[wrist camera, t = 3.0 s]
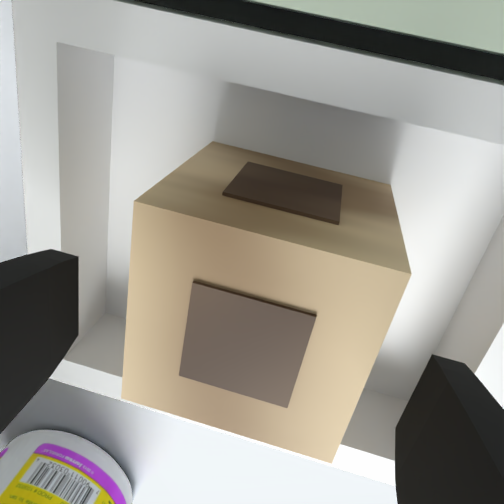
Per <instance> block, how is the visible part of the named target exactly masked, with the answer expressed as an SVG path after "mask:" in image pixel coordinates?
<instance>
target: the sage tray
mask: <svg viewBox="0 0 504 504" xmlns="http://www.w3.org/2000/svg"><path fill="white" fill-rule="evenodd" d="M241 1H245V2H250V3H255V4H259V5H264V6H269V7H274V8H278V9H283V10H288V11H292V12H297V13H302V14H307V15H311V16H316V17H321V18H325V19H330V20H335V21H340V22H344V23H349V24H354V25H359V26H363V27H368V28H373V29H377V30H382V31H387V32H392V33H396V34H401V35H406V36H410V37H415V38H420V39H425V40H429V41H434V42H439V43H443V44H448V45H453V46H458V47H462V48H467V49H472V50H477V51H481V52H486V53H491V54H495V55H500V56H504V0H241Z"/></svg>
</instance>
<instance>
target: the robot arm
mask: <svg viewBox="0 0 504 504" xmlns="http://www.w3.org/2000/svg"><path fill="white" fill-rule="evenodd" d="M78 335H79V256H75V255H72V254H68V253H64V252H61V251H57V250H54V249H48V250H44V251H39V252H35V253H32V254H28V255H25V256H21V257H18V258H14V259H11V260H8V261H4V262H1V263H0V434H1V432H2V431H3V430H4V429H5V428H6V427H7V426H8V425H9V423H10V422H11V421H12V420H13V419H14V418H15V417H16V415H17V414H18V413H19V412H20V411H21V410H22V409H23V408H24V406H25V405H26V404H27V403H28V402H29V401H30V400H31V398H32V397H33V396H34V395H35V394H36V393H37V392H38V390H39V389H40V388H41V387H42V386H43V385H44V383H45V382H46V381H47V380H48V379H49V378H50V376H51V375H52V374H53V372H54V371H55V369H56V368H57V367H58V365H59V364H60V362H61V361H62V359H63V358H64V357H65V355H66V353H67V352H68V350H69V349H70V347H71V346H72V344H73V343H74V341H75V340H76V338H77V337H78ZM395 484H396V493H397V502H398V504H504V409H503V408H502V407H501V406H500V404H499V403H498V402H497V401H496V399H495V398H494V397H493V396H492V394H491V393H490V392H489V391H488V390H487V388H486V387H485V386H484V385H483V383H482V382H481V381H480V380H479V379H478V378H477V376H476V375H475V374H474V373H473V372H472V371H471V370H470V368H469V367H468V366H467V365H466V364H465V363H462V362H459V361H455V360H451V359H448V358H444V357H441V356H437V355H433V354H432V355H431V357H430V359H429V361H428V363H427V365H426V367H425V369H424V371H423V373H422V375H421V377H420V379H419V381H418V383H417V385H416V387H415V389H414V391H413V393H412V395H411V397H410V399H409V401H408V403H407V405H406V407H405V409H404V411H403V413H402V415H401V417H400V419H399V421H398V423H397V425H396V427H395Z"/></svg>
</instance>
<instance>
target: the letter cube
mask: <svg viewBox="0 0 504 504" xmlns="http://www.w3.org/2000/svg"><path fill="white" fill-rule="evenodd" d="M411 275H412V273H411V269H410V265H409V261H408V256H407V252H406V248H405V244H404V239H403V235H402V231H401V227H400V222H399V218H398V214H397V210H396V205H395V201H394V197H393V193H392V188H391V185H390V184H385V183H381V182H377V181H373V180H369V179H365V178H361V177H357V176H353V175H349V174H345V173H341V172H337V171H332V170H328V169H324V168H320V167H316V166H312V165H308V164H304V163H300V162H296V161H292V160H288V159H284V158H279V157H275V156H271V155H267V154H263V153H259V152H255V151H251V150H247V149H243V148H239V147H235V146H231V145H226V144H222V143H218V142H214V141H212V142H211V143H209V144H208V145H207V146H205V147H204V148H203V149H201V150H200V151H199V152H198V153H196V154H195V155H194V156H192V157H191V158H190V159H188V160H187V161H186V162H184V163H183V164H182V165H180V166H179V167H178V168H176V169H175V170H174V171H173V172H171V173H170V174H169V175H167V176H166V177H165V178H163V179H162V180H161V181H159V182H158V183H157V184H155V185H154V186H153V187H151V188H150V189H149V190H147V191H146V192H145V193H144V194H142V195H141V196H140V197H138V198H137V199H136V200H134V204H133V220H132V235H131V251H130V267H129V282H128V298H127V314H126V329H125V345H124V361H123V376H122V392H121V399H125V400H128V401H131V402H134V403H138V404H141V405H144V406H147V407H150V408H154V409H157V410H160V411H163V412H167V413H170V414H173V415H176V416H179V417H183V418H186V419H189V420H192V421H196V422H199V423H202V424H205V425H208V426H212V427H215V428H218V429H221V430H225V431H228V432H231V433H234V434H237V435H241V436H244V437H247V438H250V439H254V440H257V441H260V442H263V443H266V444H270V445H273V446H276V447H279V448H283V449H286V450H289V451H292V452H295V453H299V454H302V455H305V456H308V457H312V458H315V459H318V460H321V461H324V462H328V463H331V464H332V462H333V460H334V457H335V455H336V452H337V450H338V448H339V445H340V443H341V441H342V438H343V436H344V434H345V431H346V429H347V426H348V424H349V422H350V419H351V417H352V415H353V412H354V410H355V407H356V405H357V403H358V400H359V398H360V396H361V393H362V391H363V388H364V386H365V384H366V381H367V379H368V377H369V374H370V372H371V370H372V367H373V365H374V362H375V360H376V358H377V355H378V353H379V351H380V348H381V346H382V343H383V341H384V339H385V336H386V334H387V332H388V329H389V327H390V324H391V322H392V320H393V317H394V315H395V313H396V310H397V308H398V306H399V303H400V301H401V298H402V296H403V294H404V291H405V289H406V287H407V284H408V282H409V279H410V277H411Z"/></svg>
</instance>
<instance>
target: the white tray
mask: <svg viewBox="0 0 504 504" xmlns="http://www.w3.org/2000/svg"><path fill="white" fill-rule="evenodd" d="M12 14H13V30H14V46H15V62H16V78H17V94H18V110H19V126H20V142H21V157H22V173H23V189H24V205H25V221H26V237H27V253H28V254H32V253H35V252H39V251H44V250H48V249H54V250H57V251H61V252H64V253H68V254H72V255H75V256H79V335H78V337H77V338H76V340H75V341H74V343H73V344H72V346H71V347H70V349H69V350H68V352H67V353H66V355H65V357H64V358H63V359H62V361H61V362H60V364H59V365H58V367H57V368H56V369H55V371H54V372H53V374H52V375H51V376H50V378H49V379H52V380H55V381H59V382H62V383H65V384H68V385H72V386H75V387H78V388H81V389H84V390H88V391H91V392H94V393H97V394H100V395H104V396H107V397H110V398H113V399H117V400H120V401H123V402H126V403H129V404H133V405H136V406H139V407H142V408H145V409H149V410H152V411H155V412H158V413H162V414H165V415H168V416H171V417H174V418H178V419H181V420H184V421H187V422H190V423H194V424H197V425H200V426H203V427H207V428H210V429H213V430H216V431H219V432H223V433H226V434H229V435H232V436H235V437H239V438H242V439H245V440H248V441H252V442H255V443H258V444H261V445H264V446H268V447H271V448H274V449H277V450H281V451H284V452H287V453H290V454H293V455H297V456H300V457H303V458H306V459H309V460H313V461H316V462H319V463H322V464H326V465H329V466H332V467H335V468H338V469H342V470H345V471H348V472H351V473H354V474H358V475H361V476H364V477H367V478H371V479H374V480H377V481H380V482H383V483H387V484H390V485H393V486H396V484H395V427H396V425H397V423H398V421H399V419H400V417H401V415H402V413H403V411H404V409H405V407H406V405H407V403H408V401H409V399H410V397H411V395H412V393H413V391H414V389H415V387H416V385H417V383H418V381H419V379H420V377H421V375H422V373H423V371H424V369H425V367H426V365H427V363H428V361H429V359H430V357H431V355H432V354H433V355H437V356H441V357H444V358H448V359H451V360H455V361H459V362H462V363H465V364H466V365H467V366H468V367H469V368H470V370H471V371H472V372H473V373H474V374H475V375H476V376H477V378H478V379H479V380H480V381H481V382H482V383H483V385H484V386H485V387H486V388H487V390H488V391H489V392H490V393H491V394H492V396H493V397H494V398H495V399H496V401H497V402H498V403H499V404H500V406H501V407H503V405H504V81H503V80H499V79H494V78H489V77H485V76H480V75H476V74H471V73H466V72H462V71H457V70H453V69H448V68H443V67H439V66H434V65H430V64H425V63H420V62H416V61H411V60H406V59H402V58H397V57H393V56H388V55H383V54H379V53H374V52H370V51H365V50H360V49H356V48H351V47H347V46H342V45H337V44H333V43H328V42H324V41H319V40H314V39H310V38H305V37H301V36H296V35H291V34H287V33H282V32H277V31H273V30H268V29H264V28H259V27H254V26H250V25H245V24H241V23H236V22H231V21H227V20H222V19H218V18H213V17H208V16H204V15H199V14H195V13H190V12H185V11H181V10H176V9H172V8H167V7H162V6H158V5H153V4H148V3H144V2H139V1H135V0H12ZM212 141H214V142H218V143H222V144H226V145H231V146H235V147H239V148H243V149H247V150H251V151H255V152H259V153H263V154H267V155H271V156H275V157H279V158H284V159H288V160H292V161H296V162H300V163H304V164H308V165H312V166H316V167H320V168H324V169H328V170H332V171H337V172H341V173H345V174H349V175H353V176H357V177H361V178H365V179H369V180H373V181H377V182H381V183H385V184H390V185H391V188H392V193H393V197H394V201H395V205H396V210H397V214H398V218H399V222H400V227H401V231H402V235H403V239H404V244H405V248H406V252H407V256H408V261H409V265H410V269H411V273H412V275H411V277H410V279H409V282H408V284H407V287H406V289H405V291H404V294H403V296H402V298H401V301H400V303H399V306H398V308H397V310H396V313H395V315H394V317H393V320H392V322H391V324H390V327H389V329H388V332H387V334H386V336H385V339H384V341H383V343H382V346H381V348H380V351H379V353H378V355H377V358H376V360H375V362H374V365H373V367H372V370H371V372H370V374H369V377H368V379H367V381H366V384H365V386H364V388H363V391H362V393H361V396H360V398H359V400H358V403H357V405H356V407H355V410H354V412H353V415H352V417H351V419H350V422H349V424H348V426H347V429H346V431H345V434H344V436H343V438H342V441H341V443H340V445H339V448H338V450H337V452H336V455H335V457H334V460H333V462H332V464H331V463H328V462H324V461H321V460H318V459H315V458H312V457H308V456H305V455H302V454H299V453H295V452H292V451H289V450H286V449H283V448H279V447H276V446H273V445H270V444H266V443H263V442H260V441H257V440H254V439H250V438H247V437H244V436H241V435H237V434H234V433H231V432H228V431H225V430H221V429H218V428H215V427H212V426H208V425H205V424H202V423H199V422H196V421H192V420H189V419H186V418H183V417H179V416H176V415H173V414H170V413H167V412H163V411H160V410H157V409H154V408H150V407H147V406H144V405H141V404H138V403H134V402H131V401H128V400H125V399H121V392H122V376H123V361H124V345H125V329H126V314H127V298H128V282H129V267H130V251H131V235H132V220H133V204H134V200H136V199H137V198H138V197H140V196H141V195H142V194H144V193H145V192H146V191H147V190H149V189H150V188H151V187H153V186H154V185H155V184H157V183H158V182H159V181H161V180H162V179H163V178H165V177H166V176H167V175H169V174H170V173H171V172H173V171H174V170H175V169H176V168H178V167H179V166H180V165H182V164H183V163H184V162H186V161H187V160H188V159H190V158H191V157H192V156H194V155H195V154H196V153H198V152H199V151H200V150H201V149H203V148H204V147H205V146H207V145H208V144H209V143H211V142H212Z"/></svg>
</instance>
